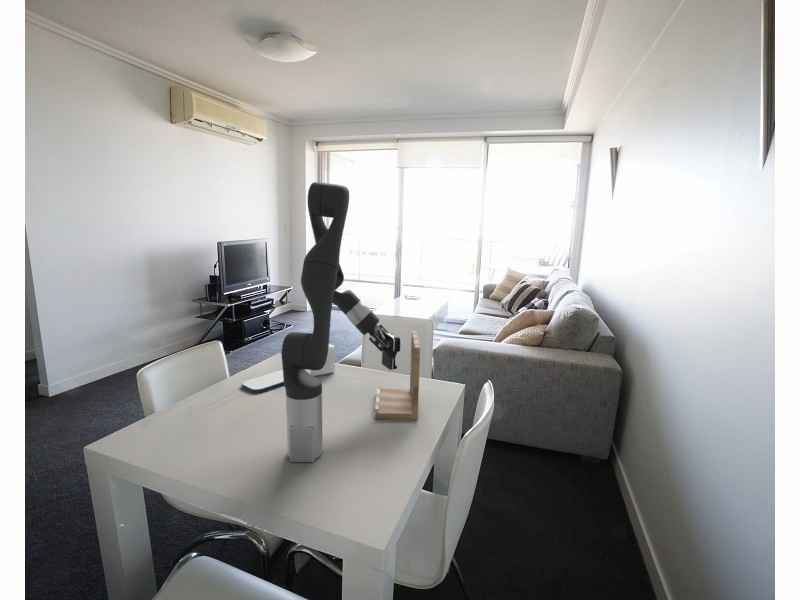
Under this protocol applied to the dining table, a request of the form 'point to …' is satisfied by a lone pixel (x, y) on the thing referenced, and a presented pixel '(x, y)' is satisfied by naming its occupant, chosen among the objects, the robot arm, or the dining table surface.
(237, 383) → the dining table surface
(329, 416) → the dining table surface
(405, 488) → the dining table surface
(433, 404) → the dining table surface
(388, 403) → the shelf
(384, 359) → the battery charger
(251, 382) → the external hard drive
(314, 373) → the photo printer
